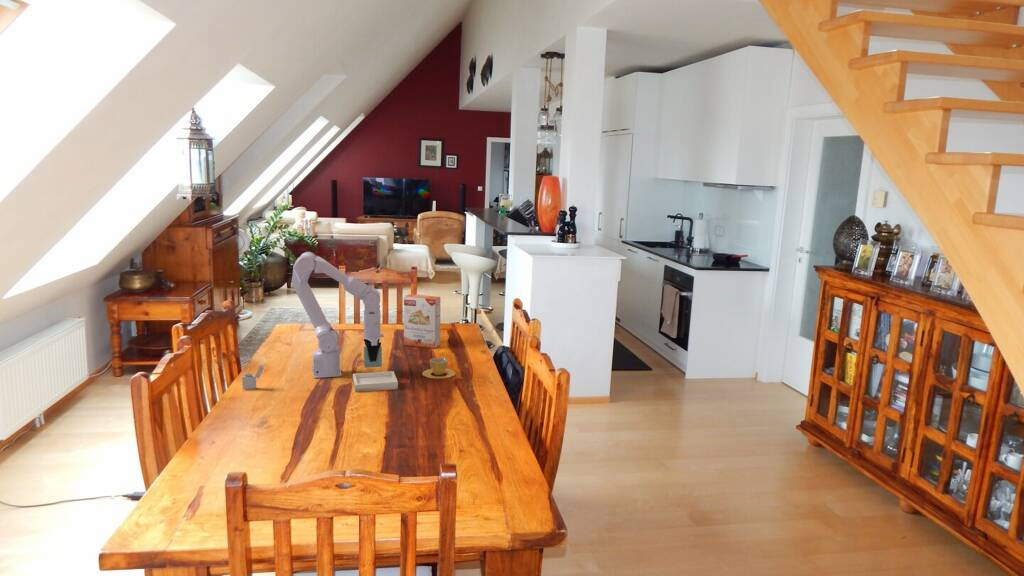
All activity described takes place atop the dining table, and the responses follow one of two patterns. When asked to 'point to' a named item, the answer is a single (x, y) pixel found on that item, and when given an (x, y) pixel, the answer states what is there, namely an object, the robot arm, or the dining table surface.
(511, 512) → the dining table surface
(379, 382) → the tray
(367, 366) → the teal block
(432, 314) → the cracker box
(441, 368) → the cup
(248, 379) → the lighter
